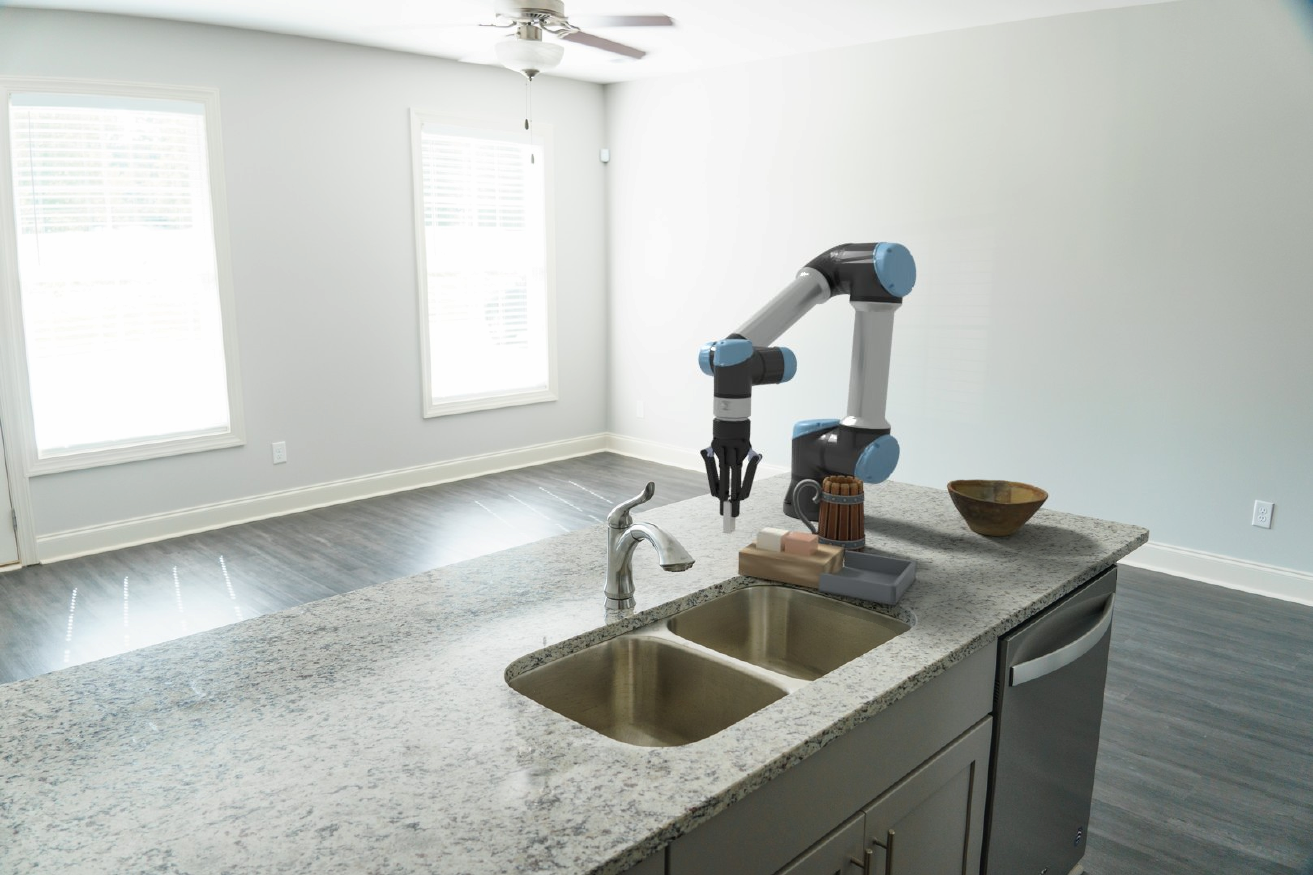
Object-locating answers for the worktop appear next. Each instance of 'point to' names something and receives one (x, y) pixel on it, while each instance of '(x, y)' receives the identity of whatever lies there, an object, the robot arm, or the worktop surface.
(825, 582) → the tray
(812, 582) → the oak board
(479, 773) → the worktop surface
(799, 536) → the tile terracotta
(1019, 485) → the bowl
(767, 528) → the tile cream
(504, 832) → the worktop surface
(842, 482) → the mug
